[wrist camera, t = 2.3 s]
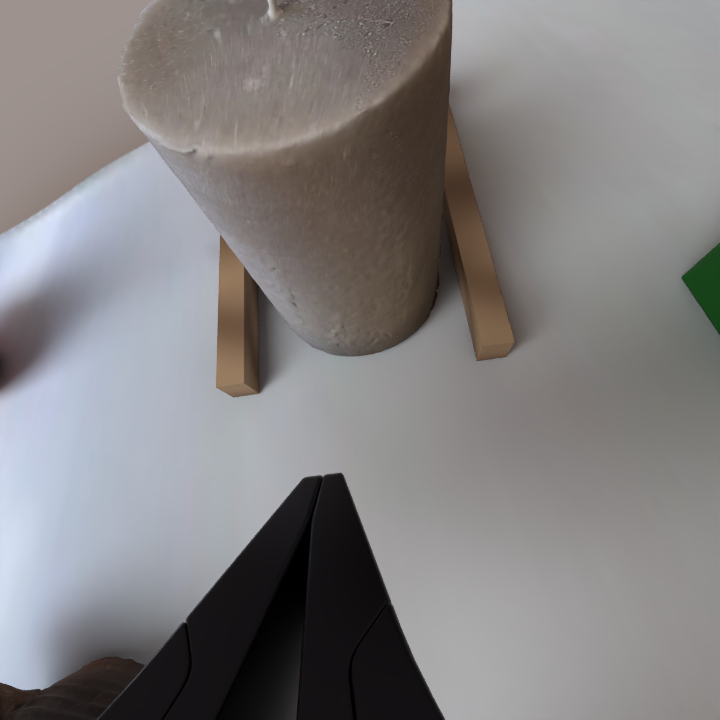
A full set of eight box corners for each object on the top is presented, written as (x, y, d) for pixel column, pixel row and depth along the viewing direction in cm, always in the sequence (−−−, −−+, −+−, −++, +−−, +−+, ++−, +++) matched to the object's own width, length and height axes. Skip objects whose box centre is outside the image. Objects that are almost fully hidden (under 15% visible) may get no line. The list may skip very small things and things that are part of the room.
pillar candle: (459, 235, 23) (510, -165, 9) (407, 382, 21) (371, 124, 7) (315, 205, 26) (189, -143, 12) (252, 333, 23) (-6, 73, 9)
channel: (505, 356, 20) (525, 323, 17) (233, 397, 22) (195, 375, 18) (440, 108, 27) (443, 45, 23) (236, 151, 28) (208, 98, 25)
